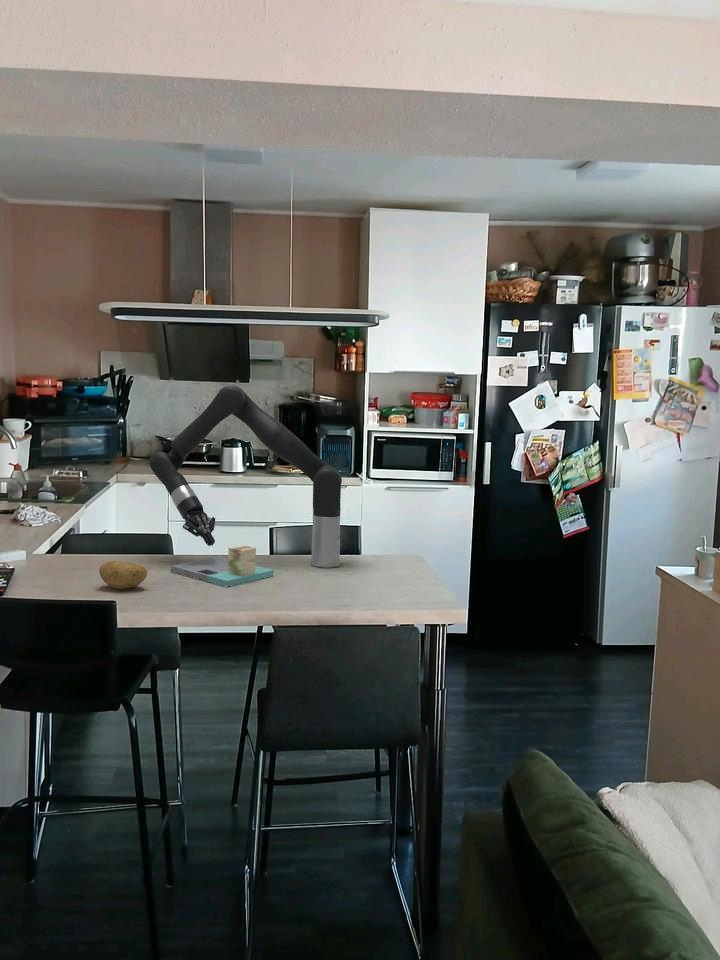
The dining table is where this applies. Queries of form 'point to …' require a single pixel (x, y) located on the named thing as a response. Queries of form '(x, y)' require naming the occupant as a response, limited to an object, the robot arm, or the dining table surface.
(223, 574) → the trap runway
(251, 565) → the maple block
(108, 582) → the potato
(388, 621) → the dining table surface
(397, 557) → the dining table surface
